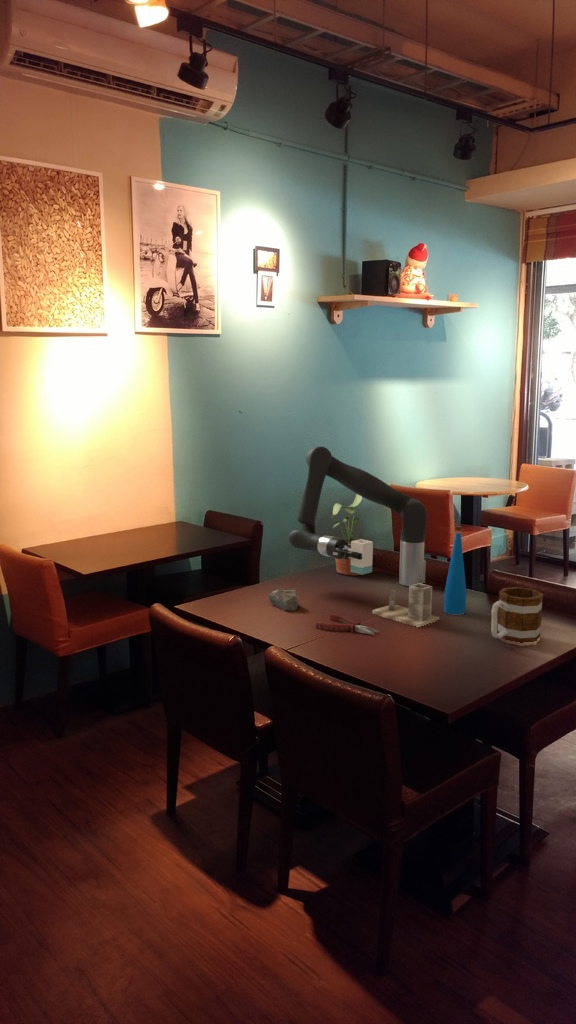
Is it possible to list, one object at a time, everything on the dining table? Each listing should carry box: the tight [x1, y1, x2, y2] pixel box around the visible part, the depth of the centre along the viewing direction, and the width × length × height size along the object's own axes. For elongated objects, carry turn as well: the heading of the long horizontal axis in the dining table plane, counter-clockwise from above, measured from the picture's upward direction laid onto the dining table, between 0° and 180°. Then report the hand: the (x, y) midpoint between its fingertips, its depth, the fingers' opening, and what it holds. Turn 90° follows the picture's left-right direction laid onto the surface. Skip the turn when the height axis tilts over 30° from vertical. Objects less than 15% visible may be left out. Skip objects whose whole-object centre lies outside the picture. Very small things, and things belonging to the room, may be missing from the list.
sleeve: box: [351, 538, 374, 575], centre depth 276 cm, size 5×5×11 cm
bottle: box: [443, 525, 467, 614], centre depth 270 cm, size 7×7×30 cm
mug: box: [490, 586, 545, 643], centre depth 243 cm, size 20×14×15 cm
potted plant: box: [329, 493, 363, 577], centre depth 320 cm, size 16×15×35 cm
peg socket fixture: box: [371, 583, 440, 628], centre depth 265 cm, size 20×11×12 cm, turn 43°
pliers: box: [315, 614, 380, 636], centre depth 254 cm, size 12×20×3 cm, turn 56°
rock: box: [268, 588, 299, 612], centre depth 278 cm, size 13×9×6 cm, turn 36°
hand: (367, 555), depth 274 cm, fingers closed on sleeve, 5 cm apart
